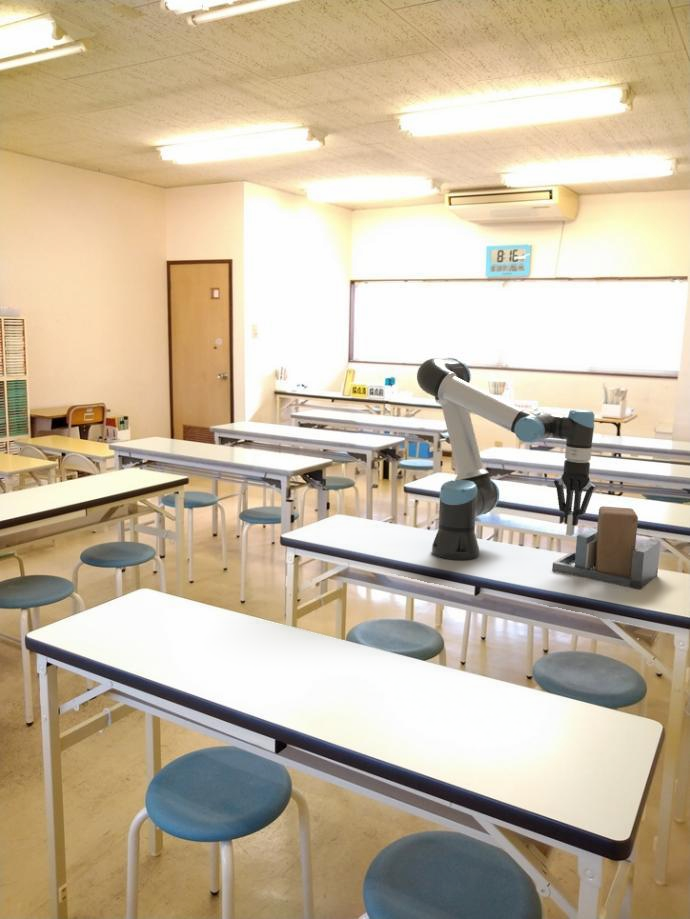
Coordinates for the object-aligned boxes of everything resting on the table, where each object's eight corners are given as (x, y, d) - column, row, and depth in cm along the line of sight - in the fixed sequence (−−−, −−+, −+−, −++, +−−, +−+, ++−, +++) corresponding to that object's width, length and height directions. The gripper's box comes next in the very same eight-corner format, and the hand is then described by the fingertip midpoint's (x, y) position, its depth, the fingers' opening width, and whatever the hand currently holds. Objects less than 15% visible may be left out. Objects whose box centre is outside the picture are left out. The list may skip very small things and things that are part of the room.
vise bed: (552, 570, 219) (554, 535, 217) (572, 558, 232) (575, 525, 230) (640, 589, 203) (644, 552, 201) (657, 575, 216) (660, 540, 215)
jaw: (574, 571, 218) (576, 536, 216) (586, 563, 226) (589, 529, 225) (585, 573, 216) (588, 538, 214) (598, 565, 224) (601, 531, 222)
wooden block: (632, 582, 210) (638, 515, 207) (596, 578, 212) (602, 512, 209) (627, 571, 220) (633, 507, 216) (593, 568, 222) (598, 505, 219)
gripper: (552, 458, 221) (545, 532, 225) (594, 464, 213) (586, 541, 217) (561, 456, 227) (554, 528, 231) (602, 462, 219) (594, 536, 223)
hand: (569, 534), depth 224 cm, fingers closed
